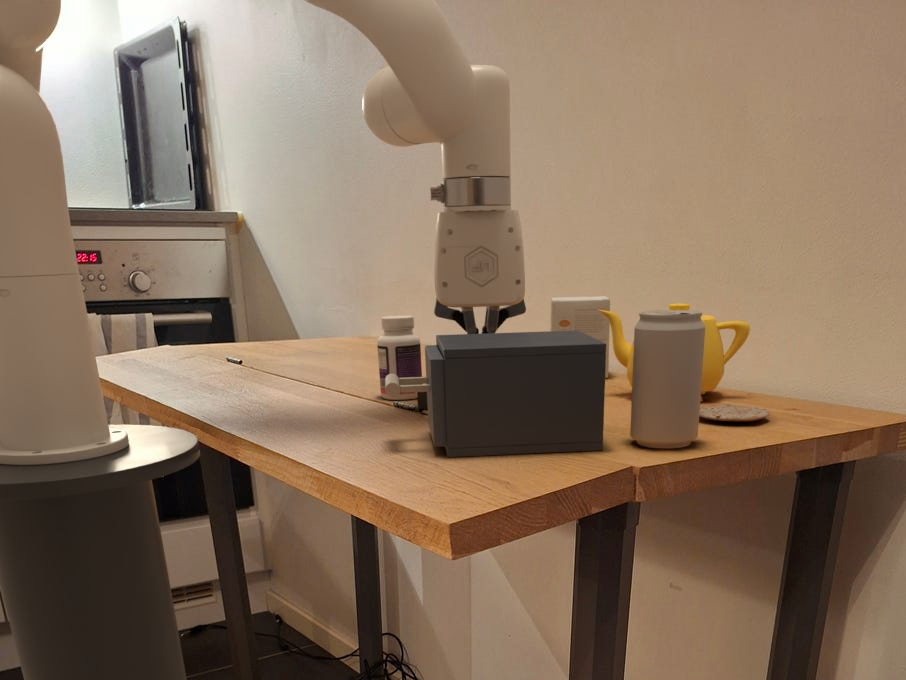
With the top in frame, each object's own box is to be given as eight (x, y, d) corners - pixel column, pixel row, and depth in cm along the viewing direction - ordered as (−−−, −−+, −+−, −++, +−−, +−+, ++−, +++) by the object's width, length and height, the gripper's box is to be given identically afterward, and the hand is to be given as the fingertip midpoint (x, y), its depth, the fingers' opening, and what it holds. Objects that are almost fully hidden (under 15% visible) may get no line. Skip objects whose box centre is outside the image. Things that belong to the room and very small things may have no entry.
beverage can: (674, 453, 83) (683, 315, 78) (616, 444, 87) (621, 312, 82) (709, 441, 87) (720, 309, 82) (652, 433, 91) (659, 307, 86)
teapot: (588, 401, 109) (590, 307, 105) (602, 387, 119) (605, 300, 114) (742, 405, 104) (752, 306, 100) (744, 390, 114) (752, 300, 110)
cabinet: (447, 457, 83) (443, 349, 80) (439, 430, 95) (435, 335, 91) (602, 450, 85) (606, 343, 81) (576, 425, 96) (578, 330, 92)
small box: (605, 373, 131) (607, 295, 127) (608, 378, 126) (611, 298, 121) (549, 374, 131) (550, 297, 127) (551, 379, 126) (551, 299, 122)
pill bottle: (428, 393, 117) (424, 314, 113) (416, 400, 113) (411, 318, 109) (388, 393, 119) (383, 314, 115) (375, 400, 114) (369, 318, 110)
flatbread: (678, 416, 98) (679, 407, 98) (729, 408, 102) (729, 399, 101) (734, 428, 92) (735, 418, 92) (785, 419, 96) (786, 409, 95)
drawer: (388, 448, 83) (383, 361, 80) (387, 425, 94) (382, 347, 90) (577, 440, 85) (579, 354, 81) (556, 418, 95) (557, 340, 92)
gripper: (410, 198, 96) (420, 375, 104) (549, 194, 97) (548, 370, 105) (408, 200, 103) (417, 367, 110) (538, 197, 104) (538, 362, 112)
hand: (481, 368), depth 108 cm, fingers closed
